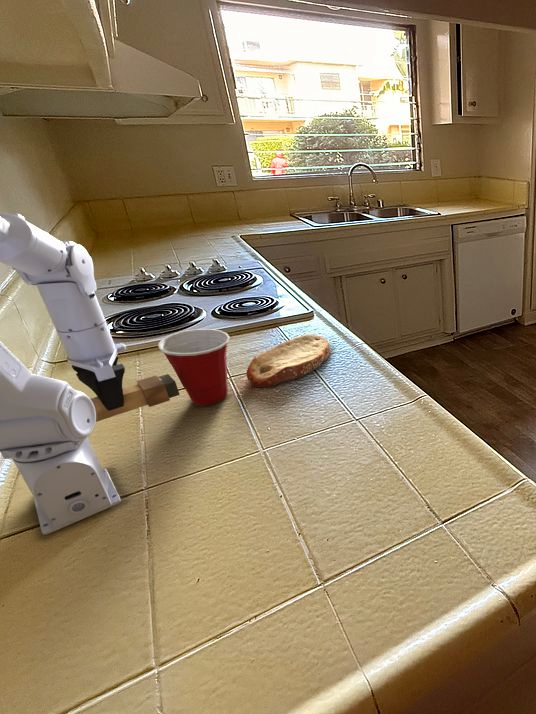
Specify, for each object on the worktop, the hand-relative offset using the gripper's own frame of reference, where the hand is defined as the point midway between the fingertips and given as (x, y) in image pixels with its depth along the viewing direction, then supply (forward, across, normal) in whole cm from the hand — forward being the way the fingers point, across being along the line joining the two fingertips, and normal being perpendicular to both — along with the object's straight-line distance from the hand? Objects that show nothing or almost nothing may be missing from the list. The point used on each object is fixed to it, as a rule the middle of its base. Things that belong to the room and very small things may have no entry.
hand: (113, 404), depth 73 cm
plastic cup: (+6, +2, -14) cm, 15 cm away
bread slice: (+6, +4, -31) cm, 32 cm away
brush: (+1, 0, -2) cm, 3 cm away
